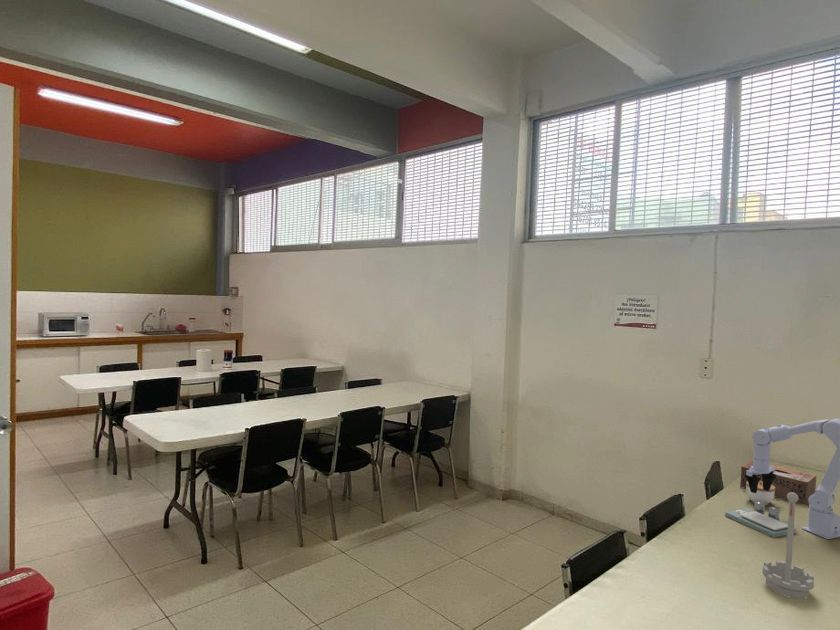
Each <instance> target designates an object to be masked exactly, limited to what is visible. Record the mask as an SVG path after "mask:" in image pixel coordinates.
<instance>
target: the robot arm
mask: <svg viewBox="0 0 840 630" xmlns="http://www.w3.org/2000/svg"><path fill="white" fill-rule="evenodd" d="M812 432H815V433H817V434H820V435H822V434H823V435H825V436H826V437H827V438H828V439H829V440H830V441H832V442H833V444H834V446H835V447H836V450H835V452H834V453H833V456H832V458H831V459H830V463H829V464H828V466H827V468H826V471H825V472H824V475H823V476H822V479H821V481H820V484H819V485H818V487H817V488H816V489H815V493H814V494H812V495H811V496H810V497H809V499H808V502H809V503H808V506H809V507H808V522H807V526H803V527H802V529H803V530H805V531H806V532H810V533H812V534H814V535H816V536H819V537H821V538H824V539H827V540H832V539H836V538H840V515H839V514H838V515H837V513H834V510H833V508H832V505H833V504H835V501H836V499H835V493H836V491H837V487H838V485H839V483H840V418H839V417H836V418H831V419H830V418H826V419H819V420H812V421H810V422H804V423H801V424H797V425H793V426H789V425H786V424H782V423H779V424H776V426H773V427H768V426H767V427H764V428H761V429H758V430H756V431H755V432H753V434H752V436H751V437H752V440H753V442H754V444H753V460H752V461H753V466H751V469H749V470H746V473H745V477H746V479H747V481H748V483H749V487H750V491H751V492H753V493H756V492H757V487H758V483H759V481H760V479H761V478H758V477H757V476H756V475H759V474H761V475H762V480H763V489H764V490H766V491H769V490H770V487H771V485H772V482H773V481H774V479H775V478H776V476H777V475H776V474H773V473H775V468H773V467H770V465H771V464H770V463H771V462H770V461H771V443H776V442H782V441H786V440H791V439H792V438H793V436H794V435H799V434H801V435H802V434H807V433H812Z"/></svg>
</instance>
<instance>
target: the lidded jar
mask: <svg viewBox="0 0 840 630" xmlns="http://www.w3.org/2000/svg"><path fill="white" fill-rule="evenodd" d="M745 490H746V494H747V496H748V498H749V499H750V500H751V502H752V503H754V502H755V501H761V502H764V503H765V506H767V505H769V504H770V503H771V502H772V501H773V500H774V499H775V496H774V495H775V486H773V485H771V487H770V490H769V491H766V490H764V489H763V482H762V481H759V483H758V487H757V492H756V493H753V492H751V491H750V487H749V483H748V481H747V482H746V488H745Z"/></svg>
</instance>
